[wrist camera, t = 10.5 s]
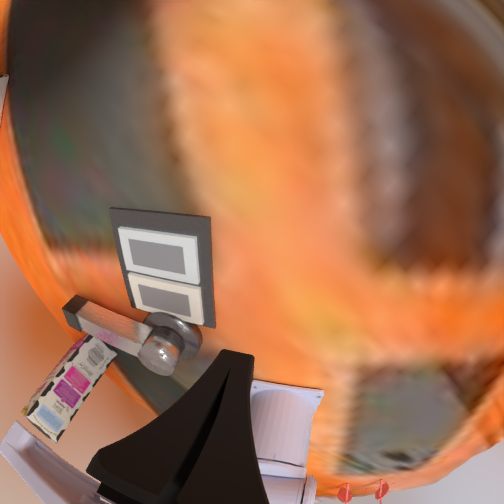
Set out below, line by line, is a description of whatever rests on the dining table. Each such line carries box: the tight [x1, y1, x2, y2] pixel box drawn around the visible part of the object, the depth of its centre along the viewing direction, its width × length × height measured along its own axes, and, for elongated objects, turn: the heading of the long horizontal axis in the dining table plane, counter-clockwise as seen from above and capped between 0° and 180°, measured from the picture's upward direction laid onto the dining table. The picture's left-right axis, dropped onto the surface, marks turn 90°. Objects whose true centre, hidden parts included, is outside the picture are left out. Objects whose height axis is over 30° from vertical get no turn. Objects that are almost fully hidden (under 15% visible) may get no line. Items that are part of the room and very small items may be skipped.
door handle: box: [62, 295, 185, 376], centre depth 24 cm, size 14×4×3 cm, turn 82°
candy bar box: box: [21, 334, 117, 443], centre depth 26 cm, size 11×5×16 cm, turn 128°
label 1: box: [118, 227, 200, 285], centre depth 21 cm, size 4×7×1 cm, turn 88°
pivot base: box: [143, 312, 202, 359], centre depth 25 cm, size 6×6×1 cm
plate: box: [109, 207, 216, 329], centre depth 22 cm, size 10×9×1 cm
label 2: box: [128, 272, 204, 325], centre depth 23 cm, size 4×7×1 cm, turn 88°
